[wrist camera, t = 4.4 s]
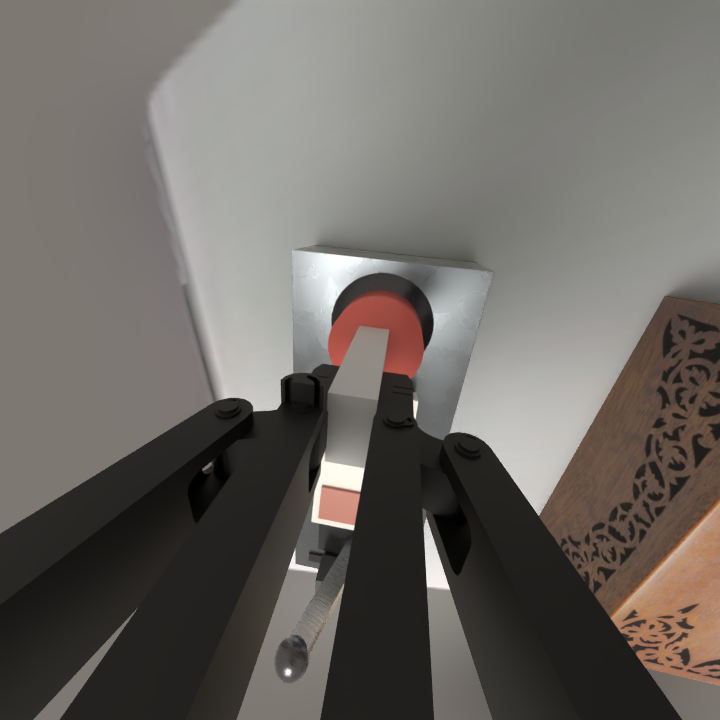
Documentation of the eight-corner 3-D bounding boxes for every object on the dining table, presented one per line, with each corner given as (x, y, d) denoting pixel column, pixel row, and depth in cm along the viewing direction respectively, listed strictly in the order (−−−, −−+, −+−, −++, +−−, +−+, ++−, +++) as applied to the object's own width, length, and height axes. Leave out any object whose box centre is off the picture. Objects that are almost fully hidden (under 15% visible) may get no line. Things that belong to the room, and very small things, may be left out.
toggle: (342, 537, 27) (265, 658, 19) (364, 551, 26) (294, 684, 18) (340, 553, 28) (267, 674, 20) (362, 566, 27) (294, 699, 19)
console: (315, 245, 22) (284, 251, 17) (475, 262, 21) (499, 275, 16) (309, 521, 36) (291, 575, 30) (406, 541, 35) (406, 601, 29)
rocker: (332, 379, 21) (324, 387, 19) (416, 392, 20) (418, 402, 18) (318, 503, 23) (310, 524, 20) (395, 518, 22) (395, 541, 20)
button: (342, 285, 17) (330, 296, 14) (428, 295, 17) (432, 309, 14) (337, 361, 19) (325, 384, 16) (413, 373, 19) (414, 397, 16)
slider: (322, 554, 29) (315, 580, 27) (341, 558, 29) (336, 585, 27) (321, 571, 31) (314, 598, 28) (340, 575, 30) (335, 602, 28)
